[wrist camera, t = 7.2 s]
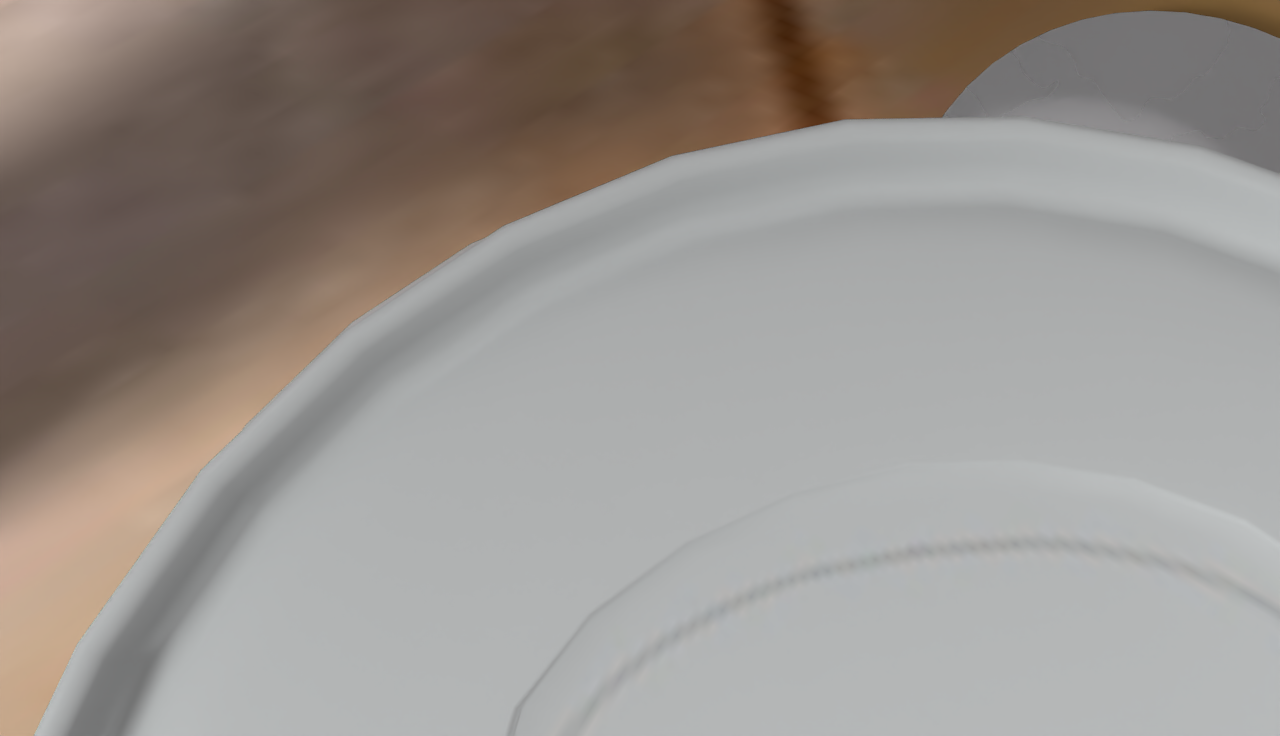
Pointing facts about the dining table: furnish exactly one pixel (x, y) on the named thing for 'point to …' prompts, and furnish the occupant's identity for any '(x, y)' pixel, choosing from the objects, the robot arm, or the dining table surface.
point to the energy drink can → (760, 466)
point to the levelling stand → (1144, 82)
